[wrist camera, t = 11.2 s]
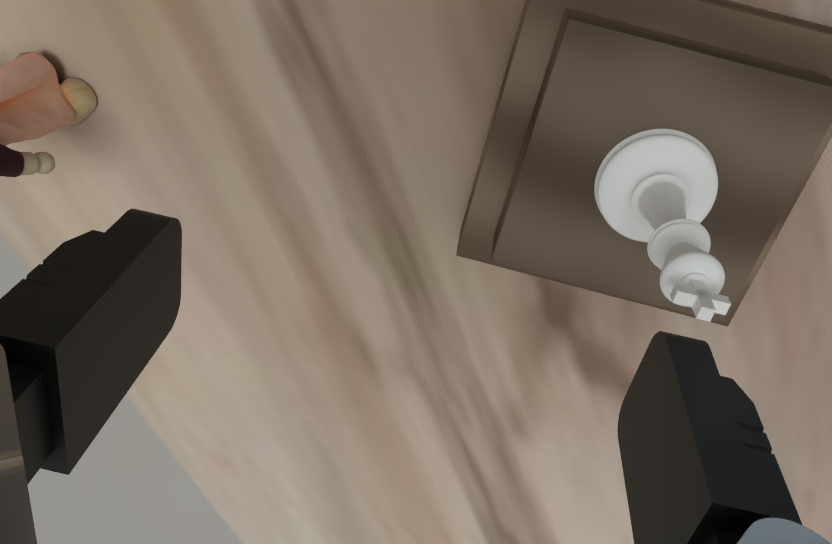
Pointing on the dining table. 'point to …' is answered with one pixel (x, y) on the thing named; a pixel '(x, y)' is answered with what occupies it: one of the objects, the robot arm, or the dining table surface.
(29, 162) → the grandmother figurine
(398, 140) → the dining table surface
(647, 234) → the chess piece
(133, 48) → the dining table surface
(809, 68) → the walnut pedestal
